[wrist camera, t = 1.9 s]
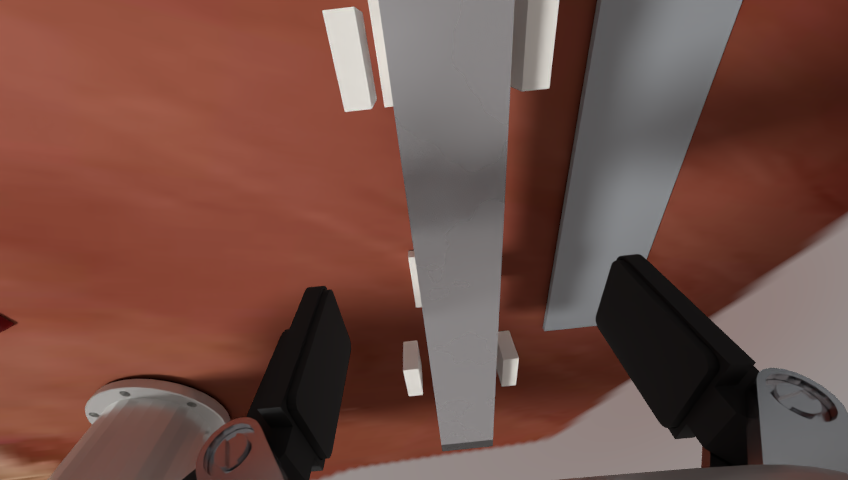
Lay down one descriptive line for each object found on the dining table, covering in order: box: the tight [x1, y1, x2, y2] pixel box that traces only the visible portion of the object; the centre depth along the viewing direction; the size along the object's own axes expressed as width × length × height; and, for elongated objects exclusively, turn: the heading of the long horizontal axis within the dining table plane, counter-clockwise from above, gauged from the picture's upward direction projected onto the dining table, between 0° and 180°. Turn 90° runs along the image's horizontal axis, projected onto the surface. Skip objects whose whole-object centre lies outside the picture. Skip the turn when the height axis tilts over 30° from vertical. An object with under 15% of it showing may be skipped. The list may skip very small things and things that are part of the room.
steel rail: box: [378, 0, 515, 451], centre depth 13 cm, size 26×3×3 cm, turn 6°
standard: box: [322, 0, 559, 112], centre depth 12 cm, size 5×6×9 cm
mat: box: [543, 0, 742, 331], centre depth 21 cm, size 26×7×1 cm, turn 6°
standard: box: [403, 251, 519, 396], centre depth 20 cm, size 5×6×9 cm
